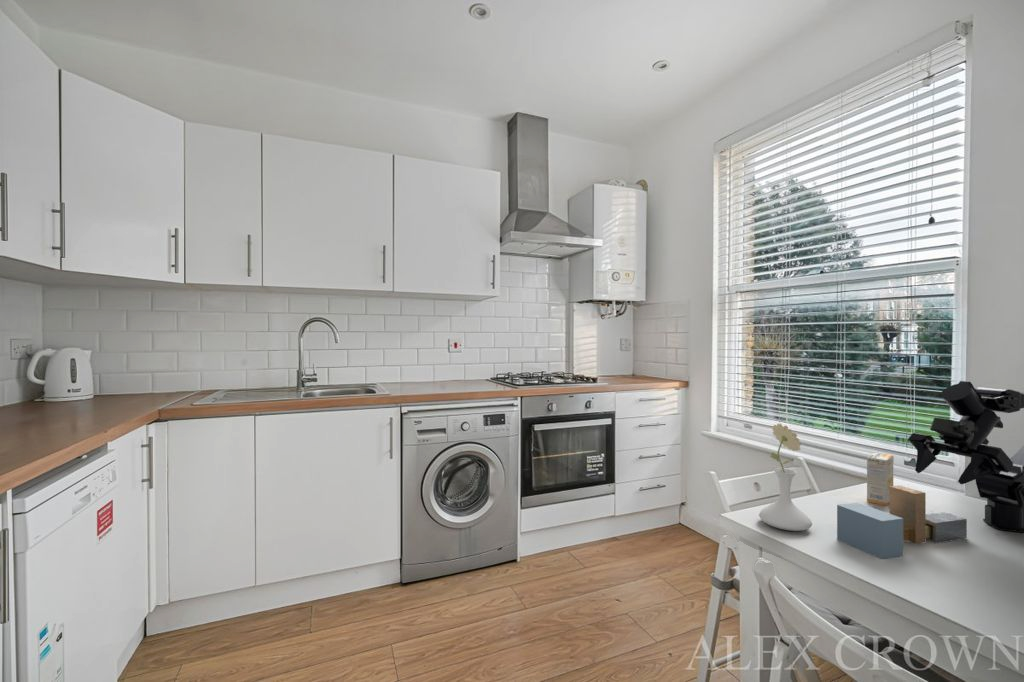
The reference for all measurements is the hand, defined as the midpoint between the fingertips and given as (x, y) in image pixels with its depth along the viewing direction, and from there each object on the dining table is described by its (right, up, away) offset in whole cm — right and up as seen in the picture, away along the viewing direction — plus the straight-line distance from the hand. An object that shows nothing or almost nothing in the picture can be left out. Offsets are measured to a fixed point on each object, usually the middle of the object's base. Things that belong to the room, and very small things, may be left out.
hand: (937, 477), depth 109 cm
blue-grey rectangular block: (-22, -13, -7) cm, 27 cm away
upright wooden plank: (-8, -13, -3) cm, 15 cm away
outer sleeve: (-1, -14, -2) cm, 14 cm away
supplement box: (+5, -14, +23) cm, 27 cm away
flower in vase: (-34, -14, +5) cm, 37 cm away
